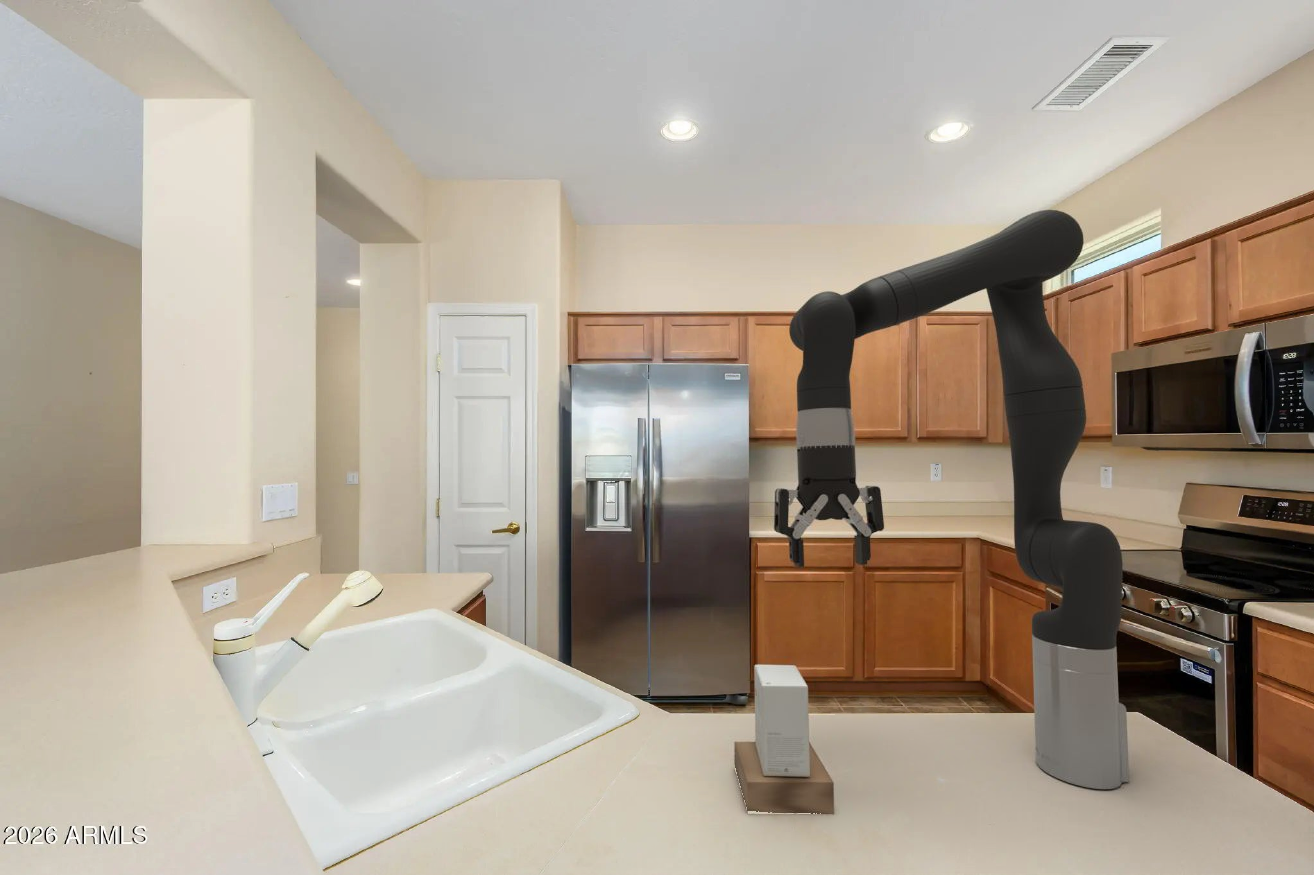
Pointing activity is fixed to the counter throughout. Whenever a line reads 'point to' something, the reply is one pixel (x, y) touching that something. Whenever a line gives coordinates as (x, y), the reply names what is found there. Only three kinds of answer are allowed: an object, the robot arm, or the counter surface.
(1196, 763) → the counter surface
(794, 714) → the small box
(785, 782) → the walnut block
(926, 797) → the counter surface
